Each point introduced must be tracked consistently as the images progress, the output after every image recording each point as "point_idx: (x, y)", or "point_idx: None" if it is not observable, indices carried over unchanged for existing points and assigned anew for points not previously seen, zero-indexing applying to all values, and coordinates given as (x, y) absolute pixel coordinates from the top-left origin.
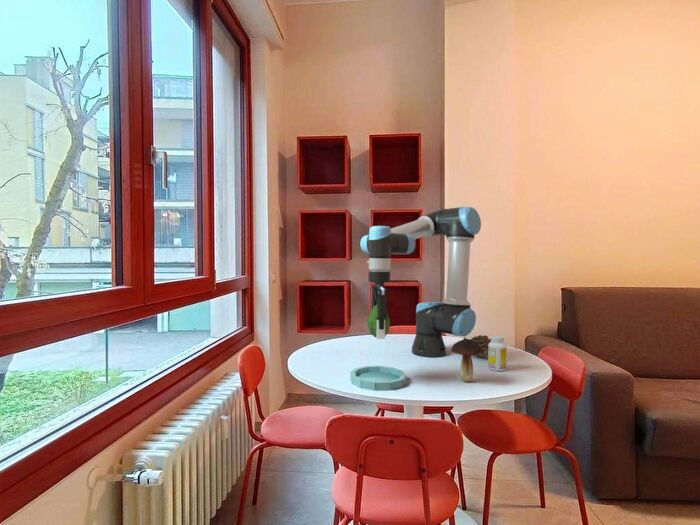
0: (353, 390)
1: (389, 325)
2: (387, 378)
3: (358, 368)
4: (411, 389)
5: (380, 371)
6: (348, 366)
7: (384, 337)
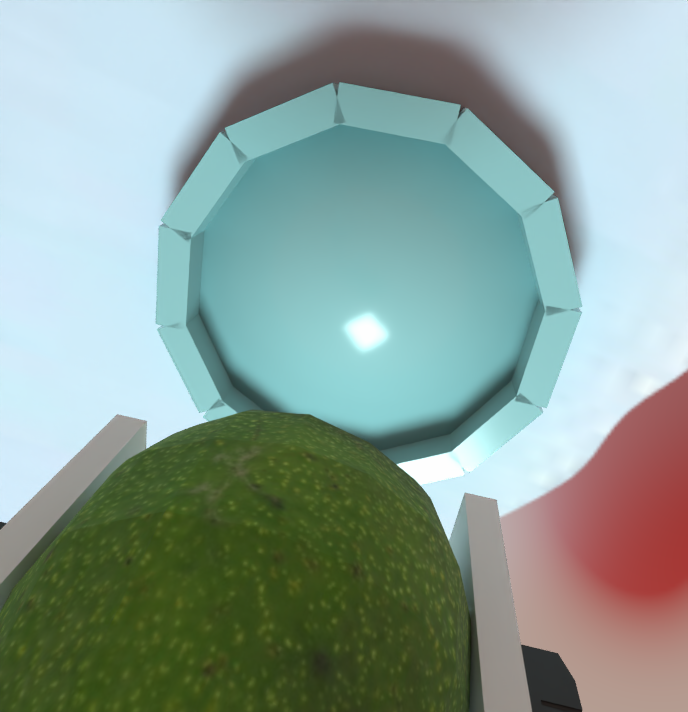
0: (485, 494)
1: (385, 513)
2: (380, 240)
3: (210, 401)
4: (622, 137)
5: (208, 225)
6: (30, 373)
7: (498, 518)
